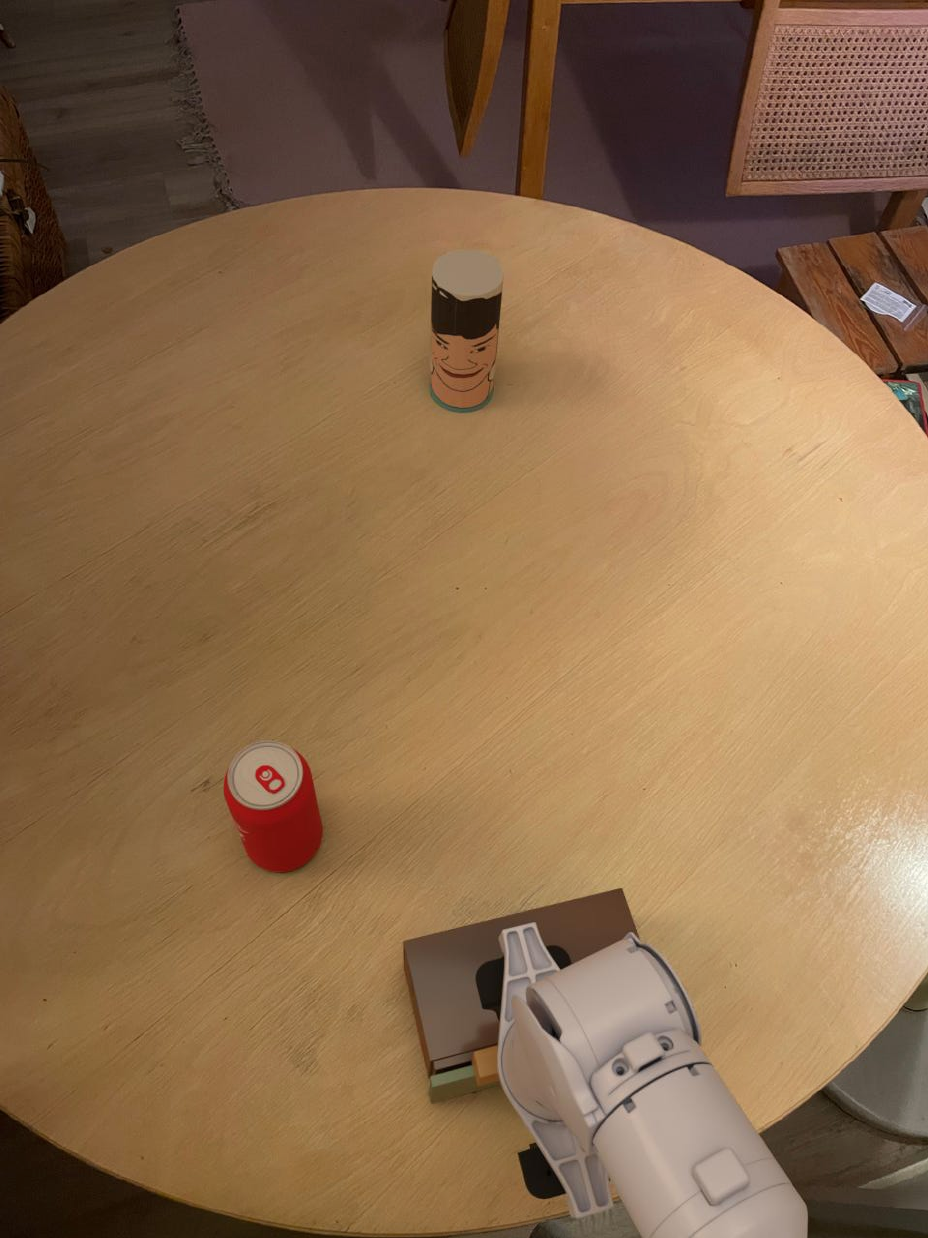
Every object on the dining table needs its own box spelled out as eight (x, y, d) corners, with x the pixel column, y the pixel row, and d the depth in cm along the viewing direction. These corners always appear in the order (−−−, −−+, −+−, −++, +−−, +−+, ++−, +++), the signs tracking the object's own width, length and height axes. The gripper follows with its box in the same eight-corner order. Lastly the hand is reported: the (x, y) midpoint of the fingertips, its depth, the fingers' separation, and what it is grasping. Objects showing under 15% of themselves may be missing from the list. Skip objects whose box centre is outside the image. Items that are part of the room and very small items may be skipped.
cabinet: (645, 1030, 75) (664, 1009, 69) (430, 1089, 72) (432, 1071, 67) (607, 915, 79) (622, 887, 74) (403, 966, 77) (402, 941, 71)
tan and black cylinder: (416, 392, 109) (417, 275, 97) (454, 358, 112) (460, 239, 100) (468, 422, 107) (475, 305, 95) (505, 385, 110) (517, 268, 98)
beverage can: (289, 785, 84) (272, 716, 74) (339, 838, 82) (329, 774, 72) (227, 836, 82) (201, 772, 72) (277, 892, 79) (257, 833, 69)
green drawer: (544, 1083, 72) (560, 1056, 64) (432, 1114, 71) (435, 1090, 63) (537, 1060, 73) (553, 1030, 65) (427, 1090, 72) (429, 1063, 64)
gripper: (694, 1192, 49) (630, 1190, 61) (601, 890, 55) (559, 942, 67) (551, 1235, 47) (514, 1224, 59) (473, 921, 54) (454, 968, 66)
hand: (531, 1076), depth 63 cm, fingers open, 7 cm apart
